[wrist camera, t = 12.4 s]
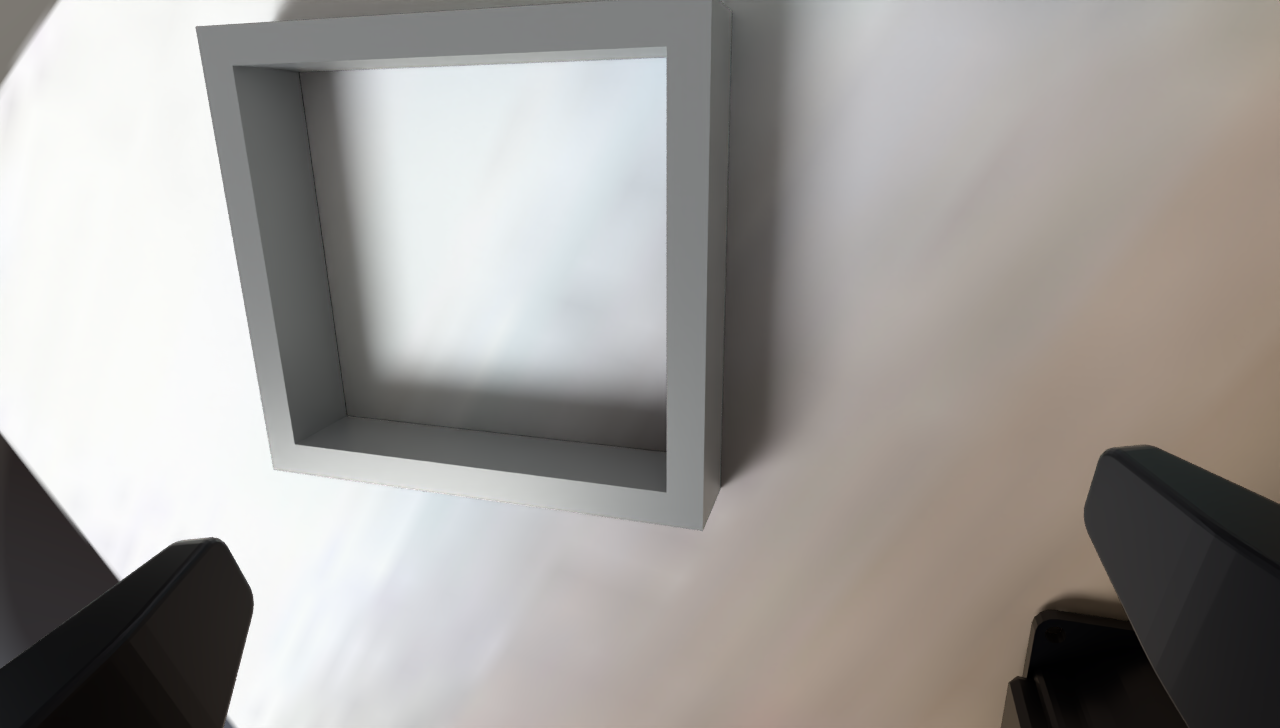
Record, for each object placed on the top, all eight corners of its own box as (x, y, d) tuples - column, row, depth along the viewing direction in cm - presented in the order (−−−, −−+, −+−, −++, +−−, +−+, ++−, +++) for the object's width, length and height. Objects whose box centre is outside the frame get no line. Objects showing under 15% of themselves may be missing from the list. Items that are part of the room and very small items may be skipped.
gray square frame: (732, 10, 18) (711, -7, 16) (720, 489, 22) (702, 530, 20) (266, 37, 22) (195, 26, 20) (326, 439, 26) (273, 469, 24)
